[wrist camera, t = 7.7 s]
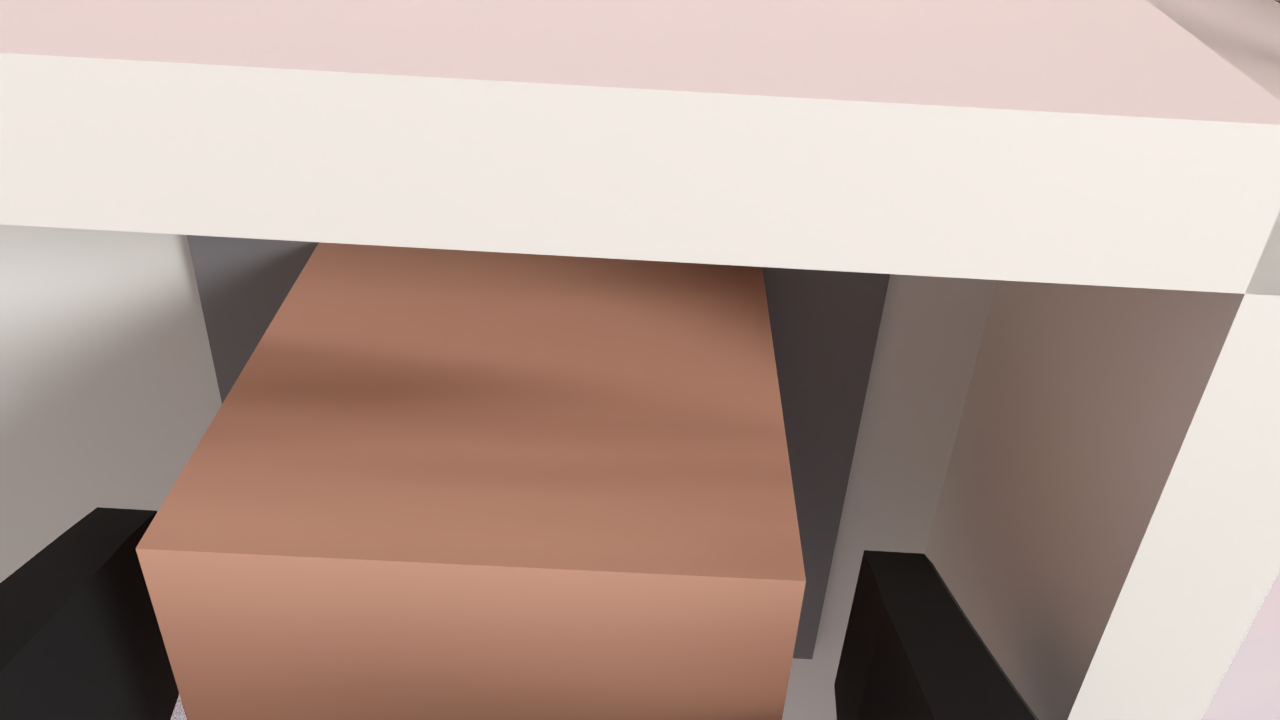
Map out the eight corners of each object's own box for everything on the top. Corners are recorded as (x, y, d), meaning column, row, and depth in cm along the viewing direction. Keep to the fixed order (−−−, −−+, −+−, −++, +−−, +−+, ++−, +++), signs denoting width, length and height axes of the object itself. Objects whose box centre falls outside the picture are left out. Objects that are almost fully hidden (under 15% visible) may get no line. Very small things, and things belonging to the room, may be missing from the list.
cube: (724, 578, 15) (743, 938, 11) (366, 560, 15) (245, 914, 11) (760, 260, 12) (806, 581, 8) (320, 239, 12) (135, 547, 8)
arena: (937, 691, 18) (1027, 1051, 13) (-22, 639, 18) (-262, 981, 13) (1168, -63, 11) (1507, 137, 7) (-360, -150, 11) (-1075, -8, 7)
